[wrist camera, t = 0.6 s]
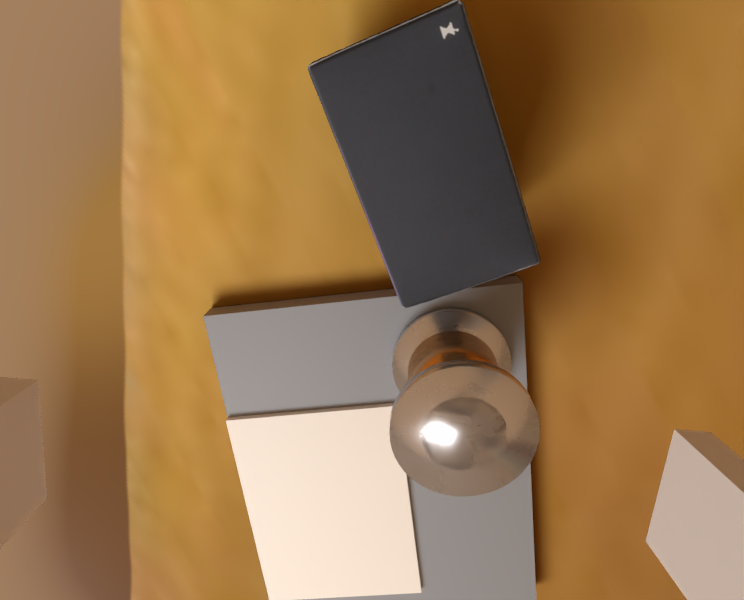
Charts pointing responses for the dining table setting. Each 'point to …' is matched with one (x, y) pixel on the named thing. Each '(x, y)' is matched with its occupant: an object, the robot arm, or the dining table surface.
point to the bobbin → (459, 405)
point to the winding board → (359, 454)
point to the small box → (427, 155)
